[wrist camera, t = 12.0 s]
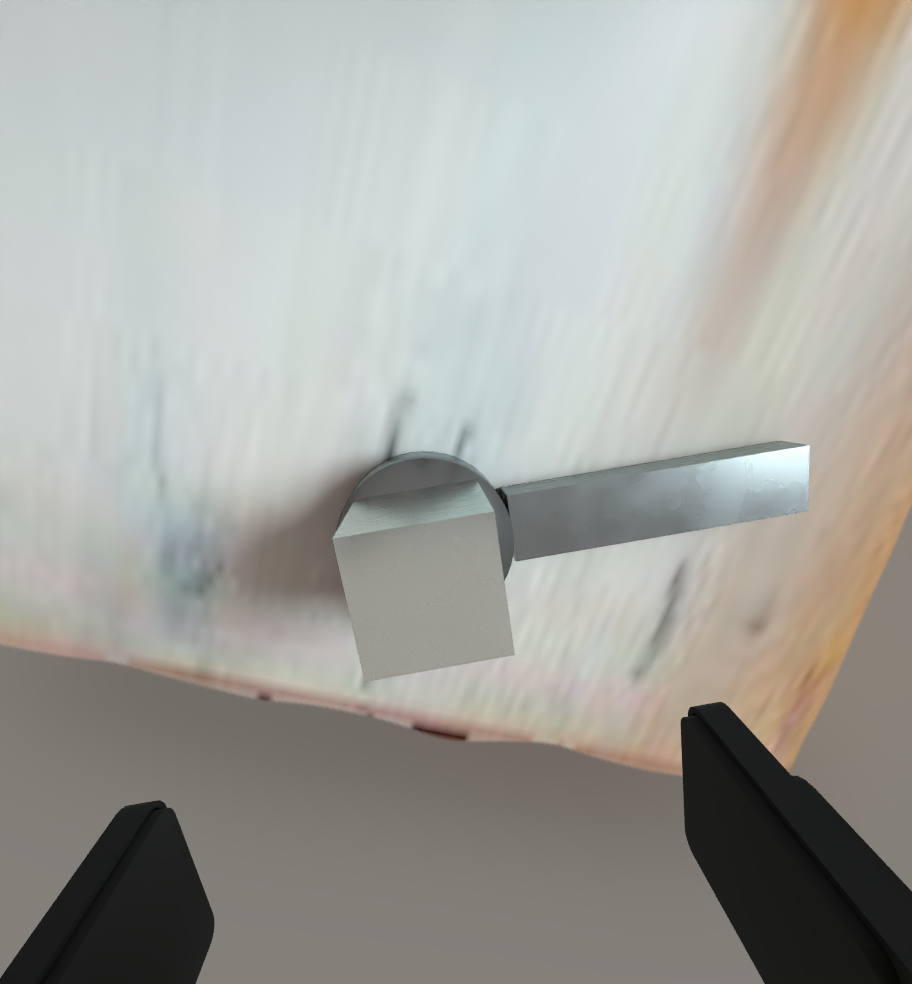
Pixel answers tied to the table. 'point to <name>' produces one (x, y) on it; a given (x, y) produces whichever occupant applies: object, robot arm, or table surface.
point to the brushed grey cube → (424, 580)
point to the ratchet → (616, 497)
